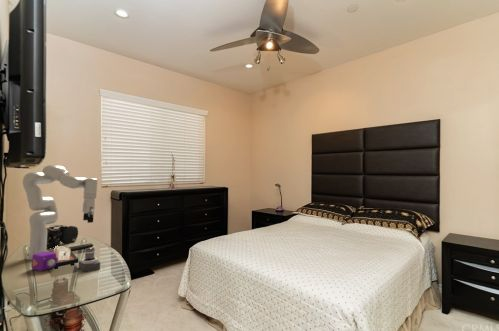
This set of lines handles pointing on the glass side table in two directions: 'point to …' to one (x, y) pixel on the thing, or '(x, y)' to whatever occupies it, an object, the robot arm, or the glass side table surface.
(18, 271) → the glass side table surface
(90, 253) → the lens
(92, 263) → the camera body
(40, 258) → the toy camera
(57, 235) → the movie camera
